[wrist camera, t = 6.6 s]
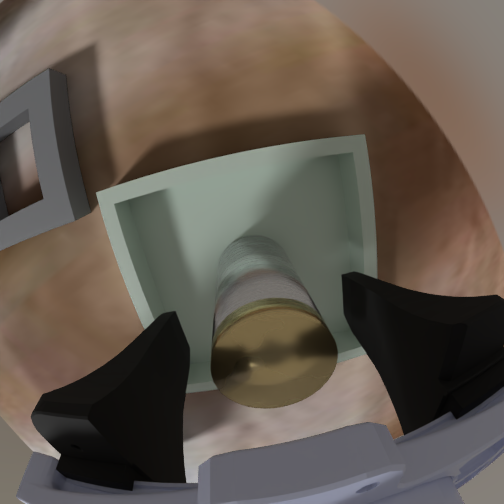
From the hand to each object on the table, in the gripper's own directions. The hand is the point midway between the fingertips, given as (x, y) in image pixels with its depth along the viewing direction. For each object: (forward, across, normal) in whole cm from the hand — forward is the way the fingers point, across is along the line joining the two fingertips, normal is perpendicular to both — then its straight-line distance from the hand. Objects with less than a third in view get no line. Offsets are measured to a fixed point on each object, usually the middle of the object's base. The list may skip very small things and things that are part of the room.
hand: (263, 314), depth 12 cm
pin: (+4, 0, 0) cm, 4 cm away
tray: (+5, 0, 0) cm, 5 cm away
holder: (+5, +13, -10) cm, 17 cm away
